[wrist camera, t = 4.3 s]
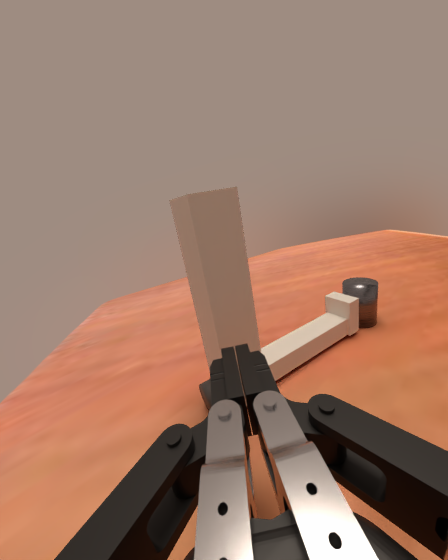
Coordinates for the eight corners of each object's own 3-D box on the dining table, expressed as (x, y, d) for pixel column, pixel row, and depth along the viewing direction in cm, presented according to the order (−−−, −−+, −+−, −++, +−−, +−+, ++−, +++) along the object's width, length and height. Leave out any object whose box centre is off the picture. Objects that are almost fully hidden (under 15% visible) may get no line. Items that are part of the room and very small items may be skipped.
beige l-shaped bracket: (333, 320, 29) (328, 174, 24) (360, 331, 26) (363, 167, 21) (200, 396, 21) (149, 203, 16) (218, 424, 18) (162, 198, 13)
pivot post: (347, 311, 31) (347, 276, 30) (378, 316, 29) (380, 278, 27) (339, 324, 29) (338, 286, 27) (373, 330, 26) (374, 290, 25)
